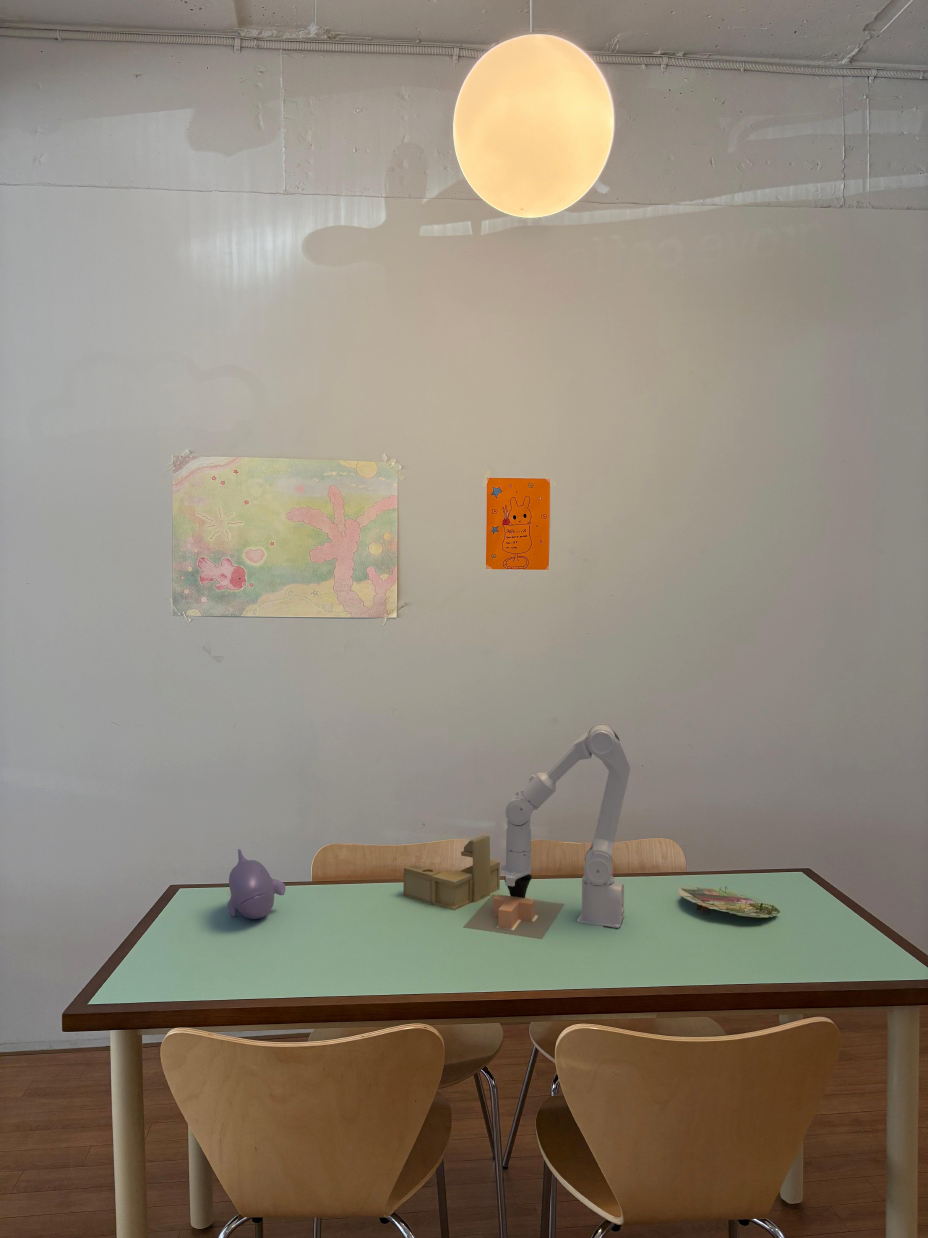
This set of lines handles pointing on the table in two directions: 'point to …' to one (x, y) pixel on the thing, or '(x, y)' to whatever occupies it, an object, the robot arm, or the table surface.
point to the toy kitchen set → (455, 879)
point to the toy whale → (252, 889)
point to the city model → (726, 902)
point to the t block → (512, 910)
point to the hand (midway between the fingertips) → (517, 907)
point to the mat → (533, 929)
